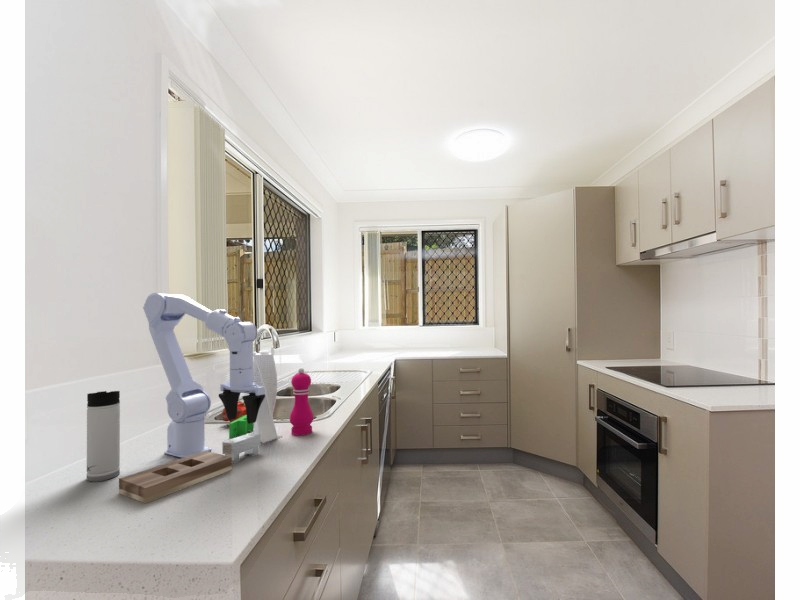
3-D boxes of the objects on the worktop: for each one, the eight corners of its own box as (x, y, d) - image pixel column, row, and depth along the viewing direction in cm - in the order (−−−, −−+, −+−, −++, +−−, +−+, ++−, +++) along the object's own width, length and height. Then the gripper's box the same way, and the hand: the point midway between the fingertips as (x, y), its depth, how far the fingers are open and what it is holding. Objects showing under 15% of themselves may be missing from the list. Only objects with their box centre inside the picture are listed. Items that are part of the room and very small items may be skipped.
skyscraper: (285, 438, 125) (284, 344, 126) (263, 446, 118) (263, 346, 119) (266, 434, 130) (266, 344, 130) (244, 441, 123) (244, 346, 124)
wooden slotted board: (118, 493, 87) (118, 478, 88) (205, 462, 105) (205, 450, 105) (145, 503, 82) (145, 488, 83) (231, 469, 100) (231, 456, 100)
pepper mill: (292, 429, 133) (291, 366, 134) (314, 429, 134) (314, 366, 135) (287, 436, 126) (287, 369, 127) (312, 435, 127) (311, 369, 127)
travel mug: (83, 484, 92) (84, 393, 93) (89, 474, 98) (89, 388, 99) (117, 479, 95) (117, 390, 96) (121, 469, 101) (121, 386, 102)
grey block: (222, 461, 105) (222, 441, 105) (251, 451, 113) (251, 432, 113) (231, 464, 103) (231, 443, 104) (260, 453, 111) (260, 434, 111)
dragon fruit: (219, 429, 141) (256, 432, 143) (215, 419, 135) (253, 423, 136) (226, 405, 146) (261, 409, 148) (223, 395, 140) (260, 399, 141)
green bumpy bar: (240, 438, 126) (240, 423, 126) (229, 438, 126) (229, 423, 126) (257, 428, 137) (257, 414, 137) (247, 428, 137) (246, 413, 137)
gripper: (273, 367, 109) (273, 420, 108) (235, 365, 116) (236, 414, 116) (251, 371, 103) (251, 427, 102) (213, 368, 110) (213, 420, 110)
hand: (241, 420), depth 109 cm, fingers open, 7 cm apart
